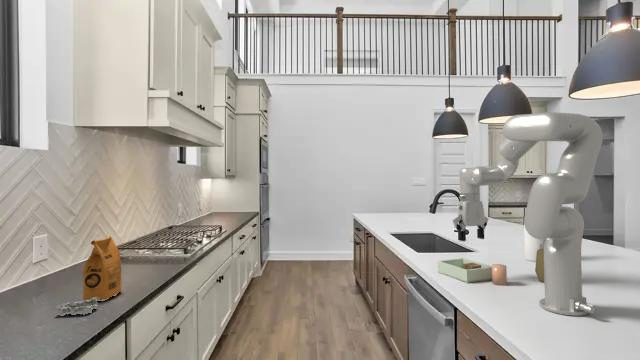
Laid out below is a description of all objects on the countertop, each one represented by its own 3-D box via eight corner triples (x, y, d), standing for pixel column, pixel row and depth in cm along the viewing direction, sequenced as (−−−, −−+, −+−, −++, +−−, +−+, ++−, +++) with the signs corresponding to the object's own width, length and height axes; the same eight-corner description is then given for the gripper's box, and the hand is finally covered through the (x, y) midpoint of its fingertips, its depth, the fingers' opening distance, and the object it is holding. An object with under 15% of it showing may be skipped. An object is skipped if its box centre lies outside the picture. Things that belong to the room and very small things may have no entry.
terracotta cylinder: (509, 284, 131) (509, 266, 131) (499, 286, 129) (499, 267, 129) (499, 281, 136) (498, 263, 136) (489, 282, 134) (488, 264, 134)
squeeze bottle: (552, 278, 138) (551, 233, 138) (564, 284, 130) (563, 236, 130) (531, 278, 138) (530, 233, 139) (542, 284, 130) (540, 237, 130)
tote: (494, 279, 138) (494, 266, 138) (467, 283, 134) (466, 270, 134) (463, 269, 155) (462, 258, 155) (438, 272, 151) (437, 261, 151)
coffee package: (77, 303, 121) (76, 241, 121) (100, 292, 134) (99, 235, 134) (105, 302, 121) (104, 240, 121) (126, 291, 134) (124, 235, 134)
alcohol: (523, 257, 174) (521, 198, 174) (543, 259, 171) (542, 198, 171) (526, 261, 166) (524, 199, 166) (547, 263, 162) (546, 199, 163)
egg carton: (101, 308, 117) (101, 296, 117) (88, 317, 109) (87, 304, 109) (69, 309, 116) (69, 297, 116) (53, 318, 109) (53, 305, 109)
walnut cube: (481, 277, 139) (481, 265, 139) (471, 278, 138) (471, 266, 138) (472, 274, 144) (472, 262, 144) (462, 275, 142) (462, 263, 142)
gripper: (459, 199, 134) (460, 242, 134) (493, 197, 140) (495, 239, 140) (446, 198, 142) (447, 239, 141) (479, 196, 147) (481, 236, 147)
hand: (471, 239), depth 141 cm, fingers open, 9 cm apart
